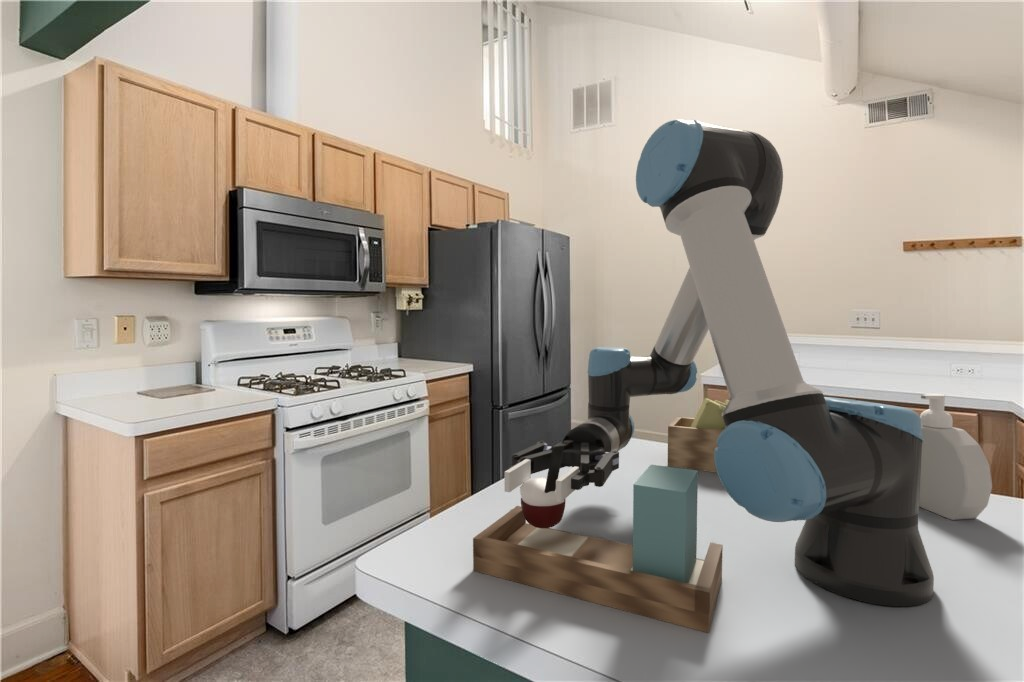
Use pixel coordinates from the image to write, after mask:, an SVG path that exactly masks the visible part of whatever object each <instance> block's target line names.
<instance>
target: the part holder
mask: <svg viewBox="0 0 1024 682" xmlns="http://www.w3.org/2000/svg"><path fill="white" fill-rule="evenodd" d="M694 419H695V417H683V416H677V417H676V418H675V419H673V420H672V421H671V423H670V424H668V425H667V467H674V468H682V469H689V470H697V471H704V472H710V473H711V472H712V473H717V469H716V465H715V458H714V452H715V448H717V447H718V445H717V443H716V442H717V439H718V437H719V435H720V434H721V432H722V431H723V430H713V429H702V428H692V427H691V425H692V423H693V421H694Z"/></svg>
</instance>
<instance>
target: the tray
mask: <svg viewBox="0 0 1024 682" xmlns="http://www.w3.org/2000/svg"><path fill="white" fill-rule="evenodd" d="M706 551H707V552H706V554H705V557H704V559H702V558H697V557H696V563H695V566H694V569H693V572H692V574H691V577H690V580H689V583H685V582H680V581H676V580H672V579H667V578H663V577H658V576H654V575H650V574H645V573H641V572H636V571H633V544H630V543H624V542H619V541H615V540H611V539H610V540H609V539H605V538H599V537H594V536H591V535H585V534H581V533H580V534H579V533H575V532H570V531H566V530H559V529H557V528H555V529H554V528H552V527H550V528H537V527H534V526H532V525H531V524H529V523H528V522H527V521H526V519H525V517H524V515H523V512H522V507H521V505H516V506H515V507H514V508H512V509H511V510H509V511H508V512H507V513H505V514H504V515H502V516H501V517H500V518H498V519H497V520H496V521H494V522H493V523H492V524H490V525H489V526H487V527H486V528H485V529H483V530H482V531H480V532H479V533H478V534H477V535H475V536H474V537H472V559H473V562H472V563H473V564H472V566H473V567H472V568H473V569H472V570H473V571H474V572H477V573H482V574H485V575H487V576H492V577H496V578H499V579H504V580H508V581H511V582H514V583H519V584H523V585H525V586H526V585H527V586H530V587H534V588H537V589H542V590H545V591H549V592H553V593H557V594H561V595H564V596H568V597H571V598H575V599H580V600H583V601H587V602H591V603H594V604H598V605H601V606H606V607H609V608H614V609H618V610H621V611H625V612H628V613H632V614H636V615H640V616H644V617H647V618H651V619H654V620H655V619H656V620H658V621H659V620H660V621H663V622H667V623H670V624H674V625H678V626H682V627H685V628H689V629H692V630H696V631H701V632H705V633H707V634H709V632H710V628H711V625H712V620H713V615H714V612H715V608H716V604H717V599H718V596H719V592H720V588H721V584H722V580H723V544H720V543H715V542H709V546H708V548H707V550H706Z"/></svg>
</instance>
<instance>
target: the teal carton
mask: <svg viewBox="0 0 1024 682" xmlns="http://www.w3.org/2000/svg"><path fill="white" fill-rule="evenodd" d="M698 477H699V470H694V469H686V468H679V467H671V466H665V465H656V464H649V466H648V467H647V468H646V469H645V471H644V472H643V473H642V474H641V475H640V476H639V478H638V479H636V481H635V482H634V483H633V489H632V492H633V496H632V497H633V498H632V499H633V500H632V501H633V502H632V503H633V504H632V512H633V513H632V516H633V517H632V518H633V519H632V521H633V522H632V545H633V571H636V572H641V573H645V574H650V575H654V576H658V577H663V578H667V579H672V580H676V581H680V582H685V583H689V580H690V577H691V574H692V572H693V569H694V566H695V563H696V558H697V549H698V548H697V546H698V545H697V544H698V543H697V542H698V541H697V540H698V539H697V538H698V533H697V532H698V486H699V485H698V484H699V482H698V481H699V478H698Z"/></svg>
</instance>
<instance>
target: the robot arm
mask: <svg viewBox="0 0 1024 682" xmlns="http://www.w3.org/2000/svg"><path fill="white" fill-rule="evenodd" d="M641 150H642V151H641V153H640V156H639V160H638V162H637V166H636V173H635V187H636V192H637V194H638V197H639V198H640V200H641V201H642V202H643V203H645V204H647V205H649V206H650V207H652V208H655V207H658V208H659V209H660V212H661V214H662V218H663V221H664V224H665V227H666V230H667V231H668V232H669V233H672V234H674V235H677V236H680V238H681V242H682V247H683V249H684V251H685V256H686V258H687V262H688V266H689V268H688V270H687V272H686V275H685V277H684V279H683V281H682V284H681V285H680V287H679V290H678V293H677V295H676V297H675V299H674V301H673V303H672V306H671V308H670V311H669V312H668V316H667V317H666V319H665V321H664V324H663V326H662V328H661V331H660V333H659V334H658V335H659V336H658V338H657V340H656V343H655V344H654V346H653V348H652V350H651V352H650V354H649V355H642V356H631V351H630V350H629V348H628V347H627V348H626V347H620V346H618V347H617V346H599V347H594V348H592V349H591V350H590V351H589V355H588V363H587V365H588V366H587V374H588V375H587V376H588V377H587V379H588V381H587V382H588V383H587V384H588V387H587V388H588V403H587V404H588V405H587V420H585V421H583V422H581V423H579V425H577V426H574V427H573V428H572V429H570V430H569V431H568V432H567V433H566V434H565V436H564V438H563V439H562V441H561V442H558V443H555V444H554V445H552V446H549V445H548V443H546V442H545V441H544V440H540V441H537V442H536V444H534V445H532V446H529V447H526V448H525V449H523V450H520V451H518V452H516V453H513V454H511V466H510V467H509V468H508V469H507V470H505V471H504V492H506V493H511V492H512V491H515V489H517V488H518V487H521V485H522V484H523V483H524V482H525V481H528V480H530V479H532V478H531V476H532V475H533V474H536V473H540V472H543V471H546V470H549V465H550V459H551V454H552V449H553V447H557V446H563V447H564V450H563V455H562V460H561V465H560V469H563V468H566V467H567V468H570V467H571V468H570V469H569V470H567V471H566V472H565V473H563V474H562V475H561V476H559V477H558V479H557V480H556V501H558V502H562V501H563V500H564V499H565V500H566V499H567V498H568V497H569V496H570V495H571V494H572V493H574V492H575V491H580V490H581V489H583V488H584V487H588V486H589V485H590V484H591V483H592V484H594V486H595V487H597V488H600V487H603V486H604V485H605V483H606V482H607V480H608V478H610V476H611V475H612V473H613V472H614V471H616V470H617V469H619V468H620V452H619V451H621V450H622V449H624V448H625V447H626V446H627V445H629V442H630V441H631V439H632V438H633V436H634V433H635V423H634V420H633V418H632V416H631V415H630V401H631V398H635V397H636V398H637V397H646V396H657V395H658V396H659V395H674V394H679V393H683V392H688V391H690V390H691V389H692V388H693V387H694V386H695V385H696V382H697V373H698V368H697V365H696V363H695V361H694V359H695V357H696V356H697V354H698V351H699V350H700V348H701V346H702V344H703V341H704V340H705V338H706V336H707V334H708V332H709V334H710V337H711V340H712V344H713V347H714V350H715V354H716V357H717V361H718V363H719V367H720V369H721V373H722V377H723V379H724V383H725V386H726V389H727V394H728V396H729V402H728V404H727V406H726V407H725V409H724V411H723V412H722V417H723V420H724V423H725V427H726V428H725V429H724V430H723V431H722V432H721V434H720V435H719V437H718V439H717V442H716V443H717V445H718V447H717V448H715V452H714V458H715V465H716V469H717V472H716V473H717V475H718V478H719V480H720V483H721V484H722V487H724V489H725V491H726V492H727V494H728V495H729V497H730V498H731V499H732V500H733V501H734V502H735V503H736V504H737V505H738V506H740V507H741V508H744V509H745V511H746V512H747V513H748V514H751V515H752V516H753V517H756V518H758V519H760V520H764V521H766V522H771V523H785V522H786V523H787V522H791V521H793V522H794V521H805V522H804V524H803V527H802V529H801V530H800V532H799V533H800V534H799V536H798V538H797V541H796V542H795V546H794V564H795V565H794V566H795V567H796V569H797V570H798V571H799V572H800V574H801V575H803V576H804V577H805V578H807V579H808V581H811V582H812V583H814V584H816V585H818V586H819V587H821V588H823V589H825V590H828V591H830V592H832V593H834V594H838V595H840V596H843V597H846V598H850V599H852V600H856V601H860V602H864V603H868V604H874V605H881V606H889V607H912V606H918V605H922V604H925V603H927V602H929V601H931V599H933V596H934V587H935V585H934V581H935V577H934V572H933V569H932V565H931V563H930V559H929V558H928V554H927V551H926V549H925V545H924V543H923V540H922V537H921V534H920V530H919V510H920V507H919V493H920V473H921V453H922V443H923V436H922V426H921V418H920V415H919V413H917V412H916V411H915V410H913V409H911V408H907V407H902V406H898V405H892V404H886V403H885V404H884V403H879V402H872V401H871V402H870V401H864V400H858V399H857V400H856V399H850V398H849V399H848V398H840V397H832V396H828V397H827V396H825V395H824V394H823V393H824V392H823V391H822V390H820V389H818V388H816V387H814V386H813V385H810V384H809V383H807V382H806V381H804V379H803V376H802V374H801V373H802V372H801V370H800V367H799V364H798V362H797V360H796V356H795V353H794V350H793V348H792V345H791V342H790V339H789V336H788V333H787V331H786V328H785V325H784V322H783V320H782V316H781V313H780V310H779V307H778V304H777V301H776V299H775V296H774V294H773V291H772V288H771V284H770V283H769V280H768V276H767V274H766V271H765V268H764V266H763V263H762V259H761V256H760V255H759V254H760V253H759V251H758V248H757V245H756V242H755V240H757V239H759V238H761V237H763V236H765V235H766V234H767V231H768V229H769V227H770V226H771V224H772V221H773V219H774V218H775V217H774V216H775V215H776V213H777V209H778V207H779V203H780V199H781V196H782V190H783V183H784V182H783V181H784V171H783V170H784V168H783V163H782V161H781V157H780V154H779V153H778V151H777V149H776V147H775V146H774V145H773V144H772V142H771V141H770V140H768V138H766V137H765V136H763V135H761V134H759V133H757V132H755V131H749V130H743V129H742V130H740V129H738V128H737V129H736V128H731V127H726V126H721V125H717V124H711V123H706V122H702V121H699V120H696V119H690V120H688V119H687V120H684V119H674V120H669V121H666V122H665V123H663V124H661V125H660V126H659V127H658V128H657V129H656V130H654V131H653V133H652V134H651V135H650V137H649V138H648V139H647V140H646V142H645V145H644V146H643V148H642V149H641Z"/></svg>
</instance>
